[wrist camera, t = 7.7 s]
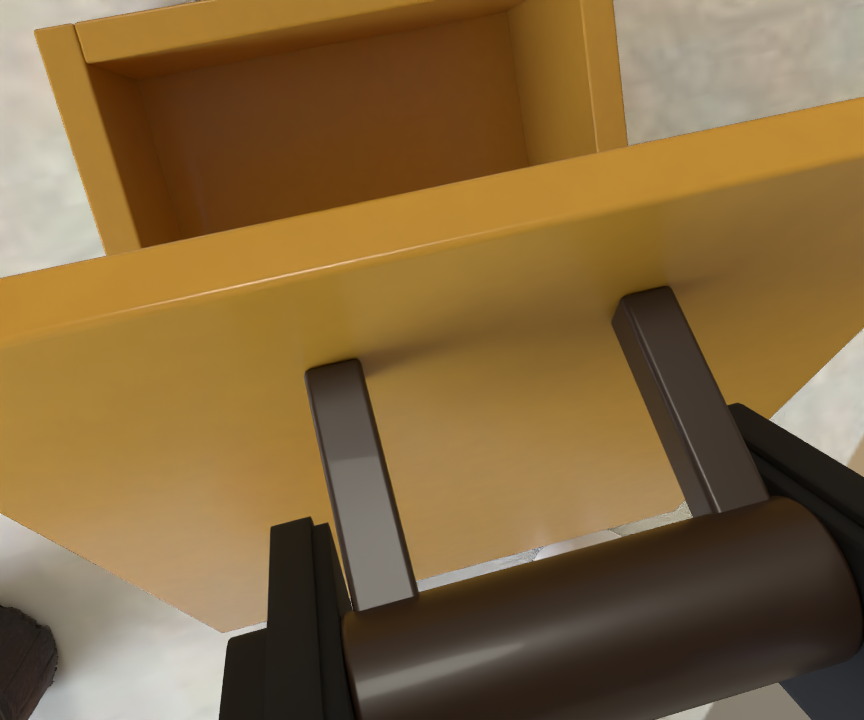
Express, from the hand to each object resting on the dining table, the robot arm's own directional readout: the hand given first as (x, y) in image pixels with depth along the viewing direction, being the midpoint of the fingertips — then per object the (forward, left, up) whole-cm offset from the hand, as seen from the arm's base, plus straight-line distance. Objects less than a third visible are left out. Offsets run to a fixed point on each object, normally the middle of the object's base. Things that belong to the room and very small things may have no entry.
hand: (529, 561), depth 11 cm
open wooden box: (-1, +1, -19) cm, 19 cm away
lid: (0, 0, -5) cm, 5 cm away
